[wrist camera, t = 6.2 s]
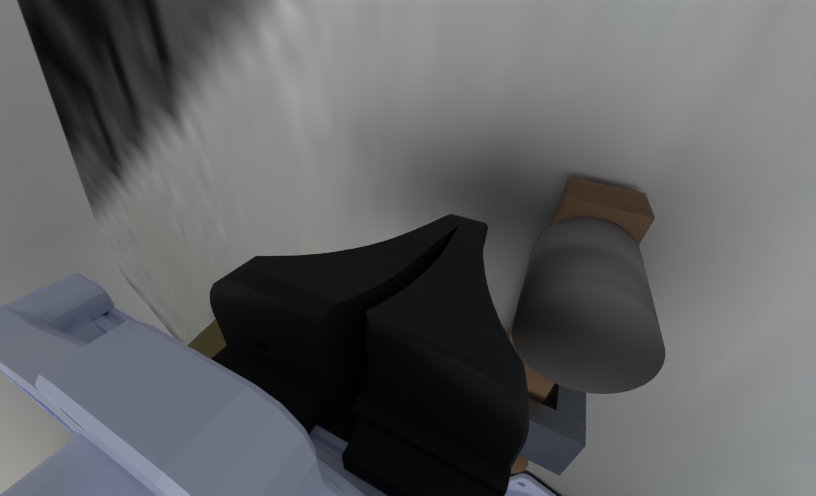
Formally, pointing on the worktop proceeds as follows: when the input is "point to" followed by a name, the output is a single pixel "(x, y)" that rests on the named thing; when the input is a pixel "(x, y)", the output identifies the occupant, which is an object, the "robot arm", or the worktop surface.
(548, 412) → the keeper
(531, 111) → the worktop surface
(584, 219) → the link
